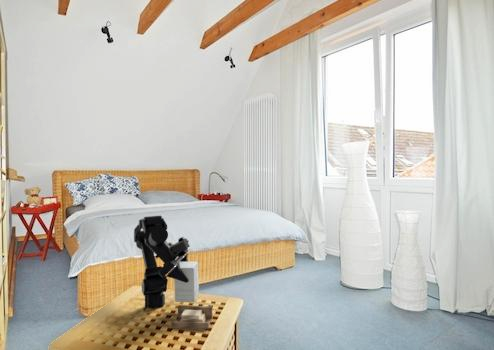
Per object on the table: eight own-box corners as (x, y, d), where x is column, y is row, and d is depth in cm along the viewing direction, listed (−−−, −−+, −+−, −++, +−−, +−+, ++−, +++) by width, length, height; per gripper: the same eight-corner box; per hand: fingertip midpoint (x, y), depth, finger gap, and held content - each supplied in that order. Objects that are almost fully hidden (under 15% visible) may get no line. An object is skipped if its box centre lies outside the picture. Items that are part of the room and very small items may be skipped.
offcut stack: (179, 326, 110) (178, 315, 110) (182, 319, 115) (182, 309, 115) (202, 326, 110) (202, 316, 110) (205, 320, 114) (205, 309, 114)
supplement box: (199, 294, 124) (199, 261, 124) (194, 303, 117) (193, 268, 116) (180, 293, 125) (179, 260, 124) (174, 302, 118) (173, 267, 117)
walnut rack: (172, 330, 109) (171, 316, 109) (179, 319, 117) (178, 305, 117) (207, 332, 108) (207, 317, 108) (212, 320, 116) (212, 306, 116)
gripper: (167, 238, 111) (200, 271, 110) (182, 226, 129) (210, 255, 129) (145, 261, 112) (177, 294, 112) (163, 246, 130) (191, 274, 130)
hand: (190, 277), depth 121 cm, fingers closed on supplement box, 7 cm apart
